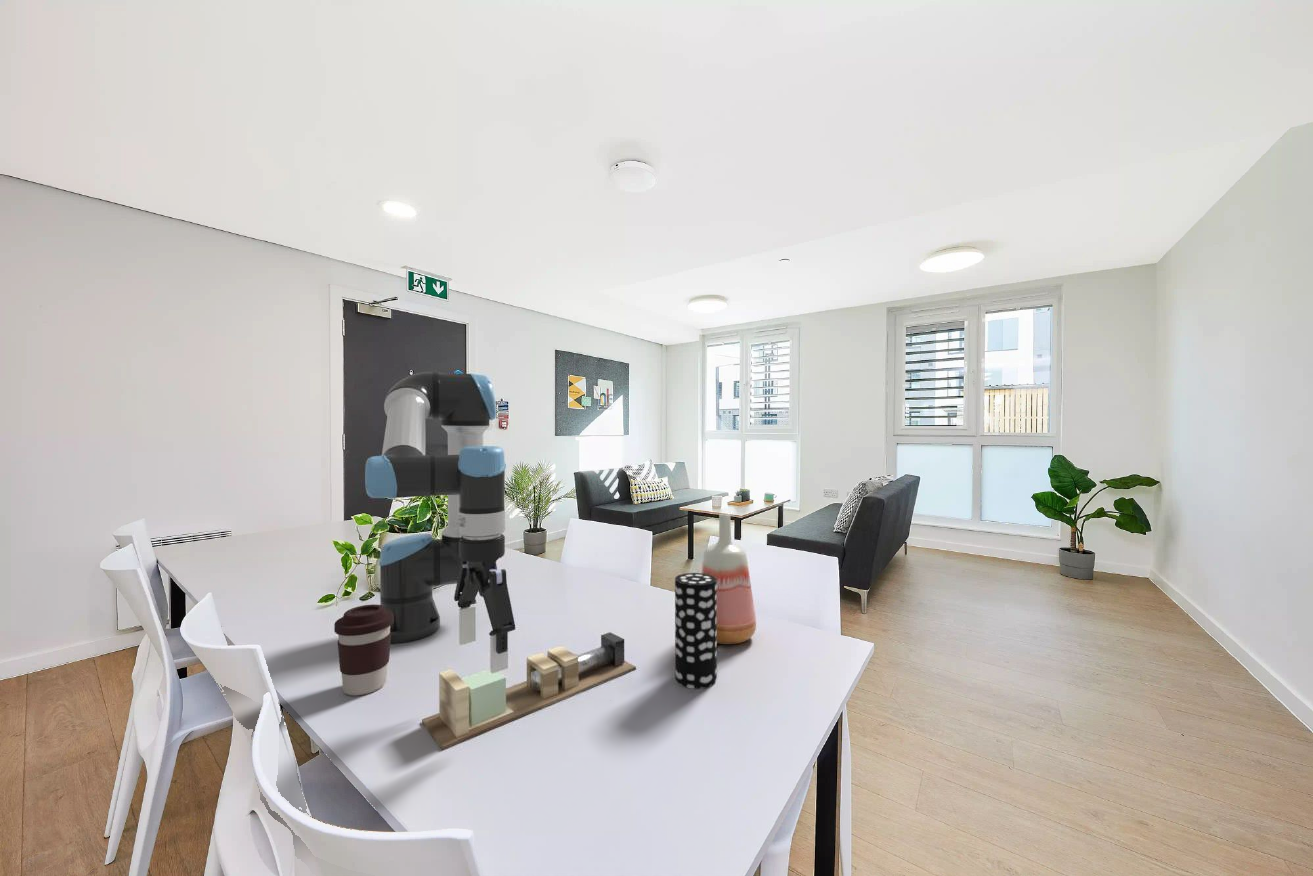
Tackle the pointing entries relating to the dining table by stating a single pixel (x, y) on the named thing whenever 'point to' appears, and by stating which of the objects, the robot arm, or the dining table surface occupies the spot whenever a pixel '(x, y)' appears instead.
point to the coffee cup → (364, 648)
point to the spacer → (486, 695)
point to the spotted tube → (696, 630)
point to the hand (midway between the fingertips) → (482, 655)
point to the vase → (730, 587)
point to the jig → (514, 695)
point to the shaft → (592, 658)
